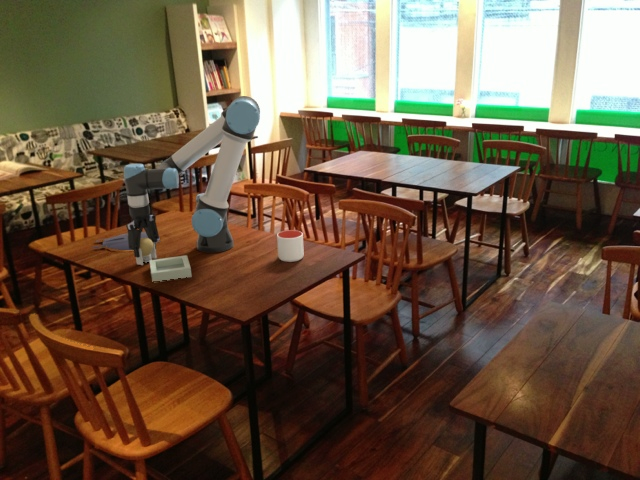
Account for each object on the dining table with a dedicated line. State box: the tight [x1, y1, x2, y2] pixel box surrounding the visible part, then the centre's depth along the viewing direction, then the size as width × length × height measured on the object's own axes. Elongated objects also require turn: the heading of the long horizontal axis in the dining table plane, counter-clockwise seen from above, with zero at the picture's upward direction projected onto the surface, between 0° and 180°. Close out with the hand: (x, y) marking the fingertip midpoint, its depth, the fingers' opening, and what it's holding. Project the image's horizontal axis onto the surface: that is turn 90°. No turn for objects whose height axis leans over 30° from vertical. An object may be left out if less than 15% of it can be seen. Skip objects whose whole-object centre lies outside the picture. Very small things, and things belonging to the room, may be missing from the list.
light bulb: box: [139, 238, 153, 264], centre depth 229 cm, size 6×6×10 cm
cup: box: [276, 229, 305, 263], centre depth 228 cm, size 10×10×10 cm
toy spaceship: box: [91, 231, 161, 250], centre depth 253 cm, size 28×24×3 cm
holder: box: [149, 255, 193, 282], centre depth 219 cm, size 14×14×4 cm
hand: (146, 260), depth 231 cm, fingers open, 7 cm apart
